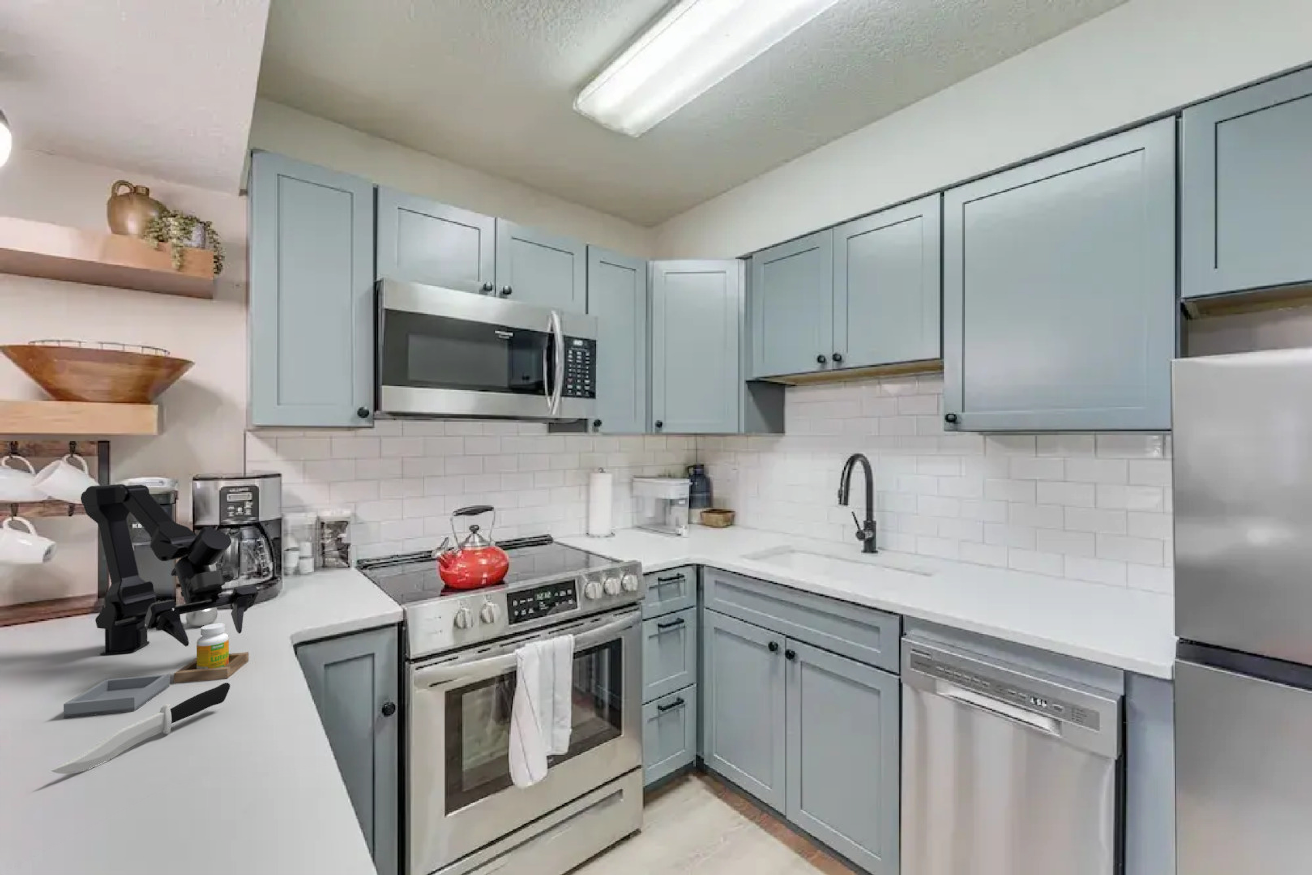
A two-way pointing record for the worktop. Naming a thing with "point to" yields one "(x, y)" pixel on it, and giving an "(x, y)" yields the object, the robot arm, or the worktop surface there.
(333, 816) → the worktop surface
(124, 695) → the tray
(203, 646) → the supplement bottle
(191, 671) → the wooden frame
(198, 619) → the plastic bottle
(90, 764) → the knife
